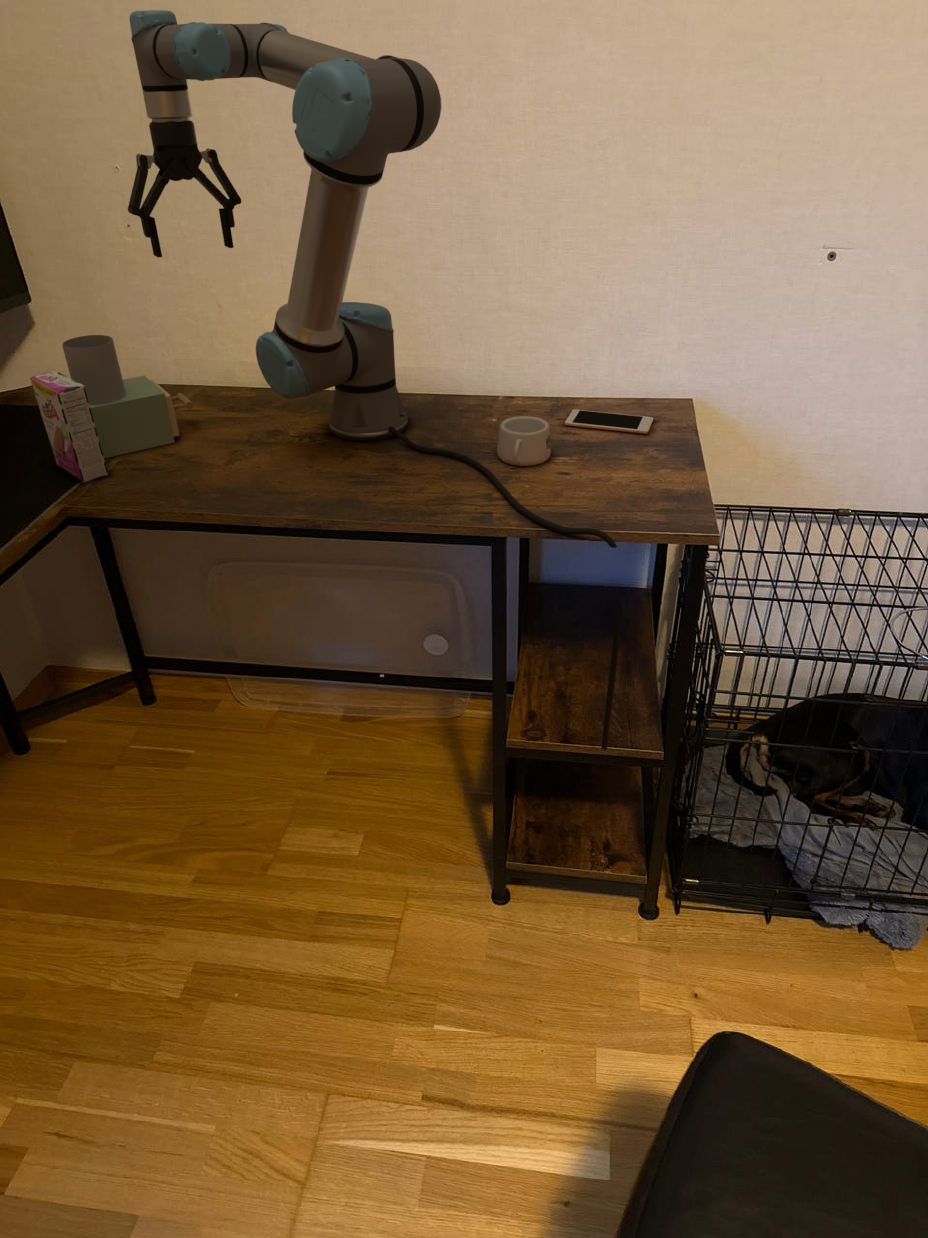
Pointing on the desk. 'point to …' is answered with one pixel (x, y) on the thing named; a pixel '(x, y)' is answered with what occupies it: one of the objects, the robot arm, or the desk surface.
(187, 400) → the drawer
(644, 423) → the cell phone
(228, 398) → the desk surface
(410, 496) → the desk surface
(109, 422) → the cabinet
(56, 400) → the candy bar box
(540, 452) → the mug
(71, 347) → the cup
